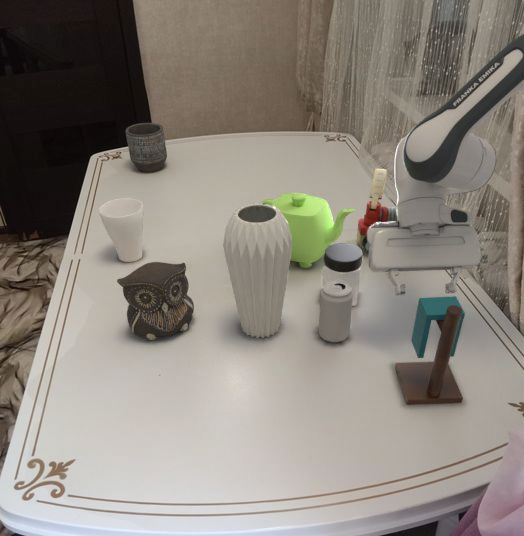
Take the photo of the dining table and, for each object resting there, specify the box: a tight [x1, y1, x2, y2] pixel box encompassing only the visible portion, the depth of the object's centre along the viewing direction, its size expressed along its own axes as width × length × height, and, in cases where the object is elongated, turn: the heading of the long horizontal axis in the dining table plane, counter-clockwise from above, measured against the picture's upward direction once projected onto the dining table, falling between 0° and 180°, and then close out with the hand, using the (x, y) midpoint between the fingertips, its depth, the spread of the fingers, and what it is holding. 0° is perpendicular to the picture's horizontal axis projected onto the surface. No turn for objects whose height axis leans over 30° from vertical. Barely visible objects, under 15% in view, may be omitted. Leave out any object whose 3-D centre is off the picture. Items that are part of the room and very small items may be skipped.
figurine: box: [116, 261, 195, 341], centre depth 113 cm, size 15×14×15 cm
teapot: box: [260, 192, 356, 269], centre depth 132 cm, size 25×22×16 cm
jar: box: [321, 242, 364, 307], centre depth 120 cm, size 9×8×12 cm
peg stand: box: [394, 305, 464, 405], centre depth 96 cm, size 10×10×20 cm
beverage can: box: [318, 280, 353, 343], centre depth 110 cm, size 6×6×12 cm
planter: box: [125, 122, 168, 173], centre depth 180 cm, size 12×12×13 cm
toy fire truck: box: [356, 168, 397, 254], centre depth 137 cm, size 11×16×18 cm
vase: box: [222, 202, 293, 339], centre depth 108 cm, size 13×13×26 cm
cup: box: [98, 197, 145, 263], centre depth 136 cm, size 10×10×14 cm
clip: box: [410, 295, 466, 359], centre depth 95 cm, size 5×6×10 cm
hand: (425, 293), depth 101 cm, fingers open, 8 cm apart
